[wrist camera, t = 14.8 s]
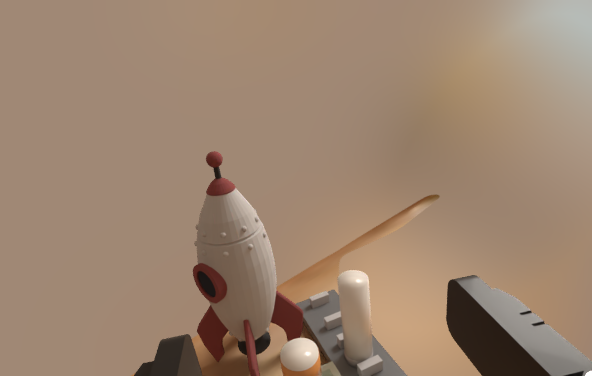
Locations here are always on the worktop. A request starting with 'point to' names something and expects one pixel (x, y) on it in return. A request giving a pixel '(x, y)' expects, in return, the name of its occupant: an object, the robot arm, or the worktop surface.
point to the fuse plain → (355, 316)
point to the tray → (330, 370)
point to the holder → (341, 338)
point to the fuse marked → (300, 358)
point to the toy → (238, 274)
